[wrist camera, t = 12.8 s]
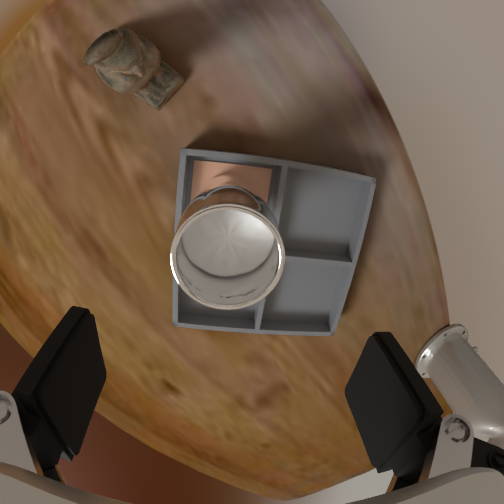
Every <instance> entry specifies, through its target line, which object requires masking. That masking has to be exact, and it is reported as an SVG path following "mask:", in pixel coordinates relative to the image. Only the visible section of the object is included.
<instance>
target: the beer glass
mask: <svg viewBox="0 0 504 504" xmlns="http://www.w3.org/2000/svg"><path fill="white" fill-rule="evenodd" d="M170 263H171V268H172V272H173V275H174V277H175V279H176V281H177V283H178V284H179V286H180V287H181V288H182V290H183V291H184V292H185V293H186V294H187V295H188V296H190V297H191V298H192V299H194V300H195V301H197V302H199V303H201V304H203V305H205V306H208V307H211V308H215V309H222V310H234V309H240V308H244V307H248V306H250V305H253V304H255V303H257V302H259V301H260V300H262V299H263V298H265V297H266V296H267V295H268V294H269V293H270V292H271V291H272V290H273V289H274V288H275V286H276V285H277V283H278V282H279V280H280V278H281V276H282V273H283V270H284V265H285V248H284V244H283V241H282V238H281V235H280V231H279V227H278V224H277V222H276V219H275V217H274V215H273V213H272V211H271V209H270V208H269V206H268V205H267V204H266V202H265V201H264V200H263V199H262V198H261V197H260V196H259V195H258V194H256V191H255V189H254V187H253V186H252V185H251V184H250V182H248V181H247V180H246V179H244V178H243V177H241V176H238V175H234V174H223V175H219V176H217V177H214V178H213V179H211V180H210V181H209V182H208V183H207V184H206V185H205V186H204V188H203V189H202V192H201V193H200V194H198V195H197V196H196V197H195V198H194V199H193V200H192V201H191V202H190V204H189V205H188V206H187V208H186V209H185V211H184V212H183V214H182V217H181V219H180V221H179V223H178V226H177V229H176V233H175V236H174V238H173V241H172V245H171V250H170Z"/></svg>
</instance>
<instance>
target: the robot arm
mask: <svg viewBox="0 0 504 504" xmlns="http://www.w3.org/2000/svg"><path fill="white" fill-rule="evenodd" d="M467 339H468V332H467V330H466V328H465V327H464V326H462V325H461V324H453V325H450V326H447V327H445V328H444V329H442V330H440V331H439V332H438V333H436V334H435V335H434V336H433V337H432V338H431V339H430V340H429V341H428V342H427V343H426V344H425V346H424V347H423V349H422V350H421V352H420V353H419V355H418V358H417V360H416V364H415V366H414V365H413V363H412V362H411V361H410V359H409V358H408V356H407V355H406V353H405V352H404V350H403V349H402V347H401V346H400V345H399V343H398V342H397V340H396V339H395V338H394V336H393V335H392V334H391V333H390V332H375V333H374V334H373V335H372V336H370V337H369V338H368V340H367V342H366V345H365V347H364V349H363V351H362V354H361V356H360V358H359V360H358V362H357V365H356V367H355V369H354V371H353V373H352V375H351V377H350V379H349V381H348V383H347V385H346V388H345V396H346V399H347V402H348V404H349V407H350V409H351V412H352V414H353V417H354V419H355V422H356V425H357V427H358V430H359V432H360V435H361V438H362V440H363V443H364V446H365V448H366V451H367V454H368V456H369V459H370V462H371V464H372V466H373V467H376V469H377V472H378V473H381V472H385V471H388V470H391V469H393V472H394V475H393V477H392V480H391V482H390V485H389V487H388V489H387V492H386V493H385V494H382V495H379V496H375V497H371V498H368V499H364V500H360V501H355V502H351V503H347V504H504V385H503V383H502V382H501V381H500V380H499V378H498V377H497V376H496V375H495V374H494V372H493V371H492V370H491V369H490V368H489V367H488V366H487V364H486V363H485V362H484V361H483V359H482V358H481V357H480V356H479V355H478V354H477V353H476V352H477V350H478V349H477V347H471V346H470V345H469V344H468V342H467ZM422 377H423V378H431V379H432V381H433V382H434V384H435V385H436V386H437V388H438V389H439V391H440V392H441V394H442V395H443V397H444V399H445V400H446V402H447V403H448V405H449V406H450V408H451V409H452V411H453V412H454V414H449V415H447V416H445V417H444V418H443V419H442V418H441V415H442V413H443V412H444V411H443V410H442V408H441V406H440V405H439V403H438V402H437V400H436V398H435V397H434V395H433V394H432V392H431V391H430V389H429V388H428V386H427V384H426V383H425V381H424V380H423V378H422ZM105 380H106V368H105V364H104V360H103V356H102V352H101V347H100V343H99V338H98V333H97V328H96V323H95V317H94V315H93V314H90V311H89V309H87V308H81V307H76V306H72V307H71V308H70V309H69V311H68V312H67V313H66V314H65V316H64V317H63V318H62V320H61V321H60V322H59V324H58V325H57V327H56V328H55V329H54V331H53V332H52V333H51V335H50V336H49V338H48V339H47V340H46V342H45V343H44V345H43V346H42V348H41V349H40V350H39V352H38V353H37V355H36V356H35V358H34V359H33V361H32V363H31V364H30V365H29V367H28V369H27V370H26V372H25V373H24V375H23V376H22V378H21V380H20V381H19V383H18V384H17V386H16V388H15V390H14V391H13V393H12V395H10V394H9V393H7V392H5V391H1V390H0V504H132V503H127V502H123V501H119V500H115V499H111V498H108V497H104V496H100V495H97V494H93V493H90V492H86V491H83V490H80V489H77V488H74V487H72V486H69V485H66V482H65V480H64V478H63V476H62V474H61V472H60V470H59V468H58V465H57V464H58V461H59V458H60V457H61V458H63V459H66V460H69V461H72V459H73V456H74V455H78V453H79V451H80V448H81V446H82V443H83V439H84V437H85V434H86V431H87V428H88V425H89V422H90V420H91V417H92V414H93V411H94V409H95V406H96V403H97V401H98V398H99V396H100V393H101V391H102V388H103V385H104V383H105ZM474 436H486V437H489V441H488V442H485V441H482V440H480V439H477V438H474Z"/></svg>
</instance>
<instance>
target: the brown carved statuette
mask: <svg viewBox="0 0 504 504" xmlns="http://www.w3.org/2000/svg"><path fill="white" fill-rule="evenodd" d="M160 59H161V53H160V52H159V50H158V48H157V47H156V46H155V45H154V44H153V43H152V42H151V41H150V40H149V39H147V38H145V37H143V36H140V35H137V34H135V32H134V31H132V30H130V29H126V28H120V29H113V30H110V31H108V32H106V33H104V34H102V35H101V36H100V37H99V38H97V39H96V40H95V41H94V42H93V44H92V45H91V46H90V47H89V48H88V50H87V52H86V54H85V57H84V63H85V64H86V65H94V66H95V68H96V71H97V73H98V75H99V76H100V78H101V79H102V80H103V81H104V82H105V83H106V84H107V85H108V86H109V87H111V88H112V89H114V90H115V91H117V92H120V93H122V94H130V93H132V94H133V95H134V96H135V97H138V98H139V99H141V100H143V101H144V102H146V103H148V105H150V106H151V107H153V108H155V109H156V110H160V109H161V108H162V107H163V106H164V105H165V104H166V102H167V101H168V100H169V99H170V98H171V96H172V95H173V94H174V93H175V92H176V91H177V89H179V88H180V86H182V85H183V83H184V82H185V79H184V78H183V76H182V75H180V74H179V73H178V72H177V71H175V70H174V69H173V68H172V67H171V66H169V65H168V64H167V63H166V62H164V61H162V60H160Z"/></svg>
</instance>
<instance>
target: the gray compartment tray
mask: <svg viewBox="0 0 504 504" xmlns="http://www.w3.org/2000/svg"><path fill="white" fill-rule="evenodd" d="M223 174H234V175H238V176H241V177H243V178H244V179H246V180H247V181H248V182H250V184H251V185H252V186H253V187H254V189H255V191H256V194H258V195H259V196H260V197H261V198H262V199H263V200H264V201H265V202H266V204H267V205H268V206H269V208H270V209H271V211H272V213H273V215H274V217H275V219H276V222H277V224H278V227H279V231H280V235H281V238H282V241H283V244H284V248H285V265H284V270H283V273H282V276H281V278H280V280H279V282H278V283H277V285H276V286H275V288H274V289H273V290H272V291H271V292H270V293H269V294H268V295H267V296H266V297H265V298H263V299H262V300H260V301H259V302H257V303H255V304H253V305H250V306H248V307H244V308H240V309H234V310H222V309H215V308H211V307H208V306H205V305H203V304H201V303H199V302H197V301H195V300H194V299H192V298H191V297H190V296H188V295H187V294H186V293H185V292H184V291H183V290H182V288H181V287H180V286H179V284H178V283H177V281H176V279H175V277H174V275H173V326H177V327H186V328H196V329H206V330H217V331H229V332H243V333H259V334H279V335H311V336H334V333H335V330H336V327H337V324H338V321H339V319H340V316H341V313H342V310H343V307H344V303H345V300H346V297H347V294H348V291H349V288H350V284H351V281H352V278H353V274H354V271H355V267H356V264H357V260H358V257H359V253H360V250H361V246H362V242H363V238H364V234H365V230H366V226H367V222H368V218H369V214H370V210H371V205H372V201H373V196H374V191H375V187H376V182H377V178H374V177H371V176H368V175H365V174H361V173H357V172H352V171H347V170H343V169H338V168H333V167H328V166H323V165H317V164H312V163H306V162H300V161H295V160H288V159H282V158H275V157H269V156H262V155H254V154H246V153H238V152H229V151H220V150H209V149H198V148H181V152H180V162H179V172H178V184H177V197H176V212H175V230H174V236H175V233H176V229H177V226H178V223H179V221H180V219H181V217H182V214H183V212H184V211H185V209H186V208H187V206H188V205H189V204H190V202H191V201H192V200H193V199H194V198H195V197H196V196H197V195H198V194H200V193H201V192H202V189H203V188H204V186H205V185H206V184H207V183H208V182H209V181H210V180H211V179H213V178H214V177H217V176H219V175H223Z"/></svg>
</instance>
